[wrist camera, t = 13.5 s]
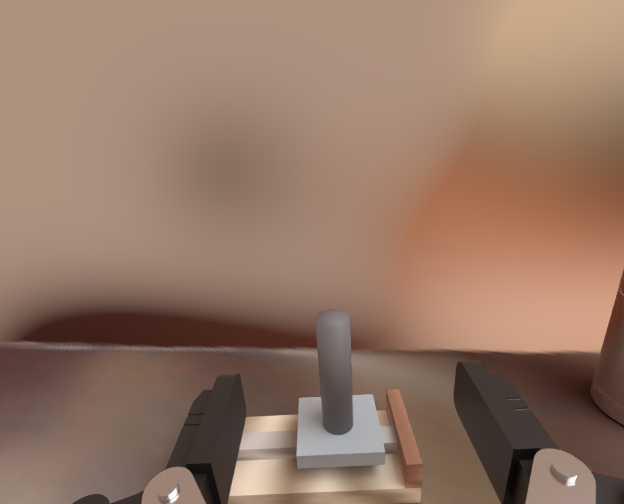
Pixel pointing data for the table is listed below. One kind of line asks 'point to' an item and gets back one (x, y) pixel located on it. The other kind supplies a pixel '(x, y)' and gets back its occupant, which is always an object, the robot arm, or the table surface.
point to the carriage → (337, 406)
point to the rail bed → (330, 480)
